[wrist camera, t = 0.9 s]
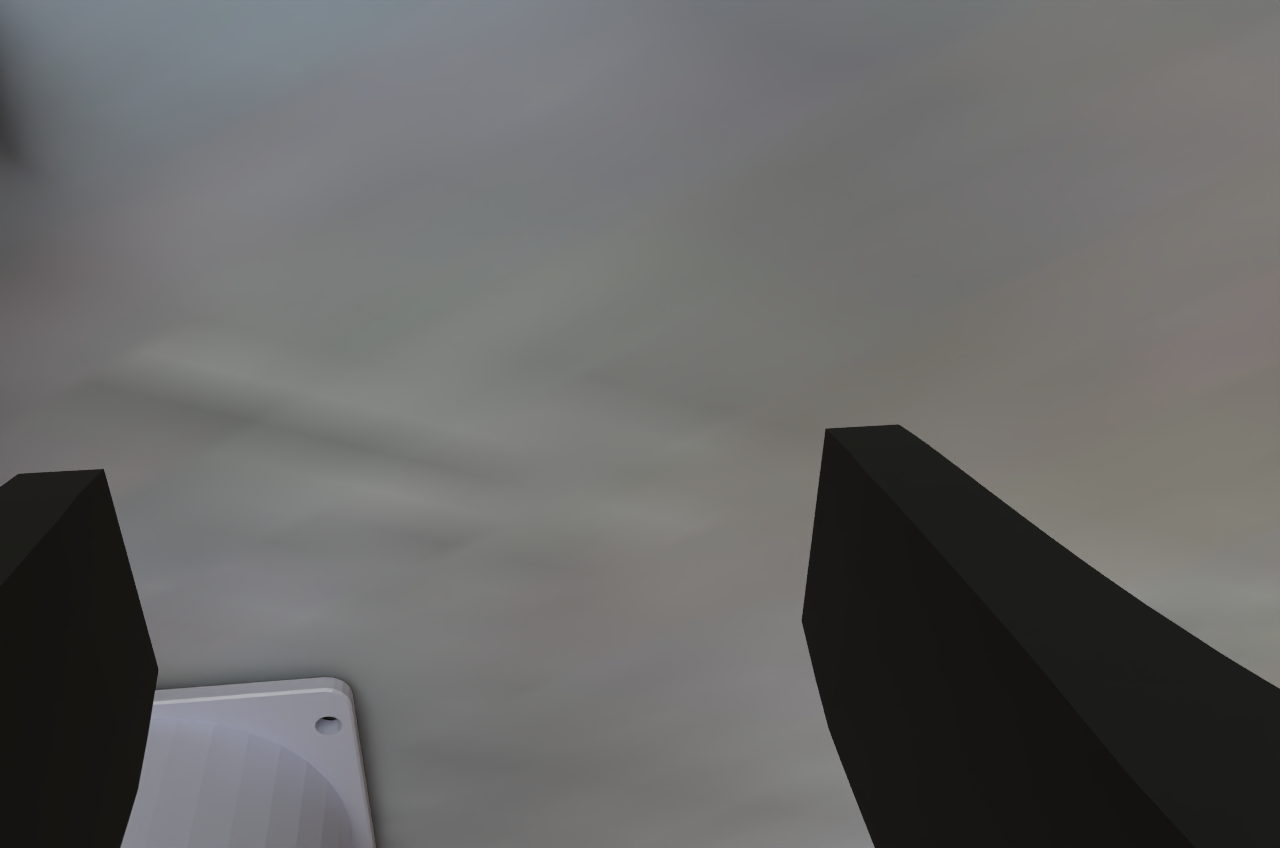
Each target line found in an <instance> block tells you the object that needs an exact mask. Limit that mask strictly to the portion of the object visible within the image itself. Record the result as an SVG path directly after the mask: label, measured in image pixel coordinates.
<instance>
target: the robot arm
mask: <svg viewBox="0 0 1280 848" xmlns="http://www.w3.org/2000/svg"><path fill="white" fill-rule="evenodd" d="M802 624H803V628H804V632H805V636H806V641H807V645H808V649H809V653H810V657H811V662H812V666H813V670H814V674H815V678H816V682H817V686H818V690H819V694H820V697H821V701H822V705H823V709H824V713H825V716H826V720H827V724H828V728H829V731H830V733H831V736H832V739H833V741H834V744H835V747H836V749H837V752H838V755H839V757H840V760H841V762H842V765H843V768H844V770H845V773H846V775H847V778H848V780H849V783H850V786H851V788H852V791H853V793H854V796H855V798H856V801H857V804H858V806H859V809H860V811H861V814H862V816H863V819H864V821H865V824H866V826H867V829H868V832H869V834H870V837H871V839H872V842H873V844H874V847H875V848H1280V689H1279V688H1277V687H1276V686H1274V685H1272V684H1271V683H1269V682H1267V681H1266V680H1264V679H1262V678H1261V677H1259V676H1257V675H1256V674H1254V673H1252V672H1251V671H1249V670H1247V669H1246V668H1244V667H1242V666H1241V665H1239V664H1237V663H1236V662H1234V661H1232V660H1231V659H1229V658H1228V657H1226V656H1224V655H1223V654H1221V653H1220V652H1218V651H1216V650H1215V649H1213V648H1212V647H1210V646H1209V645H1207V644H1206V643H1204V642H1203V641H1201V640H1200V639H1198V638H1197V637H1195V636H1193V635H1192V634H1190V633H1189V632H1187V631H1186V630H1184V629H1183V628H1181V627H1180V626H1178V625H1177V624H1175V623H1173V622H1172V621H1170V620H1169V619H1167V618H1166V617H1164V616H1163V615H1161V614H1160V613H1158V612H1157V611H1155V610H1153V609H1152V608H1150V607H1149V606H1147V605H1146V604H1144V603H1143V602H1141V601H1140V600H1139V599H1137V598H1136V597H1134V596H1133V595H1131V594H1130V593H1128V592H1127V591H1125V590H1124V589H1123V588H1121V587H1120V586H1118V585H1117V584H1115V583H1114V582H1112V581H1111V580H1110V579H1108V578H1107V577H1105V576H1104V575H1102V574H1101V573H1100V572H1098V571H1097V570H1095V569H1094V568H1093V567H1091V566H1090V565H1088V564H1087V563H1086V562H1084V561H1083V560H1081V559H1080V558H1079V557H1077V556H1076V555H1074V554H1073V553H1072V552H1070V551H1069V550H1068V549H1066V548H1065V547H1063V546H1062V545H1061V544H1059V543H1058V542H1057V541H1055V540H1054V539H1053V538H1051V537H1050V536H1048V535H1047V534H1046V533H1044V532H1043V531H1042V530H1040V529H1039V528H1038V527H1036V526H1035V525H1034V524H1032V523H1031V522H1030V521H1028V520H1027V519H1026V518H1024V517H1023V516H1022V515H1020V514H1019V513H1018V512H1016V511H1015V510H1014V509H1012V508H1011V507H1010V506H1008V505H1007V504H1006V503H1004V502H1003V501H1002V500H1000V499H999V498H998V497H997V496H995V495H994V494H993V493H991V492H990V491H989V490H987V489H986V488H985V487H983V486H982V485H981V484H979V483H978V482H977V481H975V480H974V479H973V478H972V477H970V476H969V475H968V474H966V473H965V472H964V471H962V470H961V469H960V468H958V467H957V466H956V465H954V464H953V463H952V462H950V461H949V460H948V459H946V458H945V457H944V456H943V455H941V454H940V453H938V452H937V451H936V450H934V449H933V448H932V447H930V446H929V445H928V444H926V443H925V442H924V441H922V440H921V439H919V438H918V437H917V436H915V435H914V434H912V433H911V432H909V431H908V430H906V429H905V428H903V427H902V426H900V425H883V426H865V427H847V428H829V429H826V430H825V438H824V446H823V454H822V462H821V470H820V478H819V486H818V494H817V502H816V510H815V518H814V526H813V534H812V542H811V550H810V558H809V566H808V574H807V582H806V590H805V598H804V607H803V615H802ZM157 676H158V666H157V662H156V659H155V655H154V651H153V648H152V644H151V640H150V637H149V633H148V629H147V626H146V622H145V618H144V615H143V611H142V607H141V604H140V600H139V596H138V593H137V589H136V585H135V582H134V578H133V574H132V571H131V567H130V563H129V560H128V556H127V552H126V549H125V545H124V541H123V538H122V534H121V530H120V527H119V523H118V519H117V516H116V512H115V508H114V505H113V501H112V497H111V494H110V490H109V486H108V483H107V479H106V475H105V472H104V469H96V470H79V471H61V472H43V473H25V474H18V475H16V476H15V477H13V478H12V479H11V480H9V481H8V482H7V483H5V484H4V485H2V486H1V487H0V848H376V842H375V836H374V829H373V823H372V816H371V810H370V803H369V797H368V790H367V784H366V777H365V771H364V764H363V758H362V751H361V745H360V738H359V732H358V725H357V719H356V712H355V706H354V699H353V693H352V691H351V689H350V686H348V685H347V684H346V683H345V682H344V681H342V680H339V679H336V678H330V677H320V678H307V679H294V680H281V681H268V682H255V683H243V684H230V685H217V686H204V687H191V688H179V689H166V690H155V688H156V682H157ZM326 716H329V717H335V718H337V719H336V720H324V719H322V718H323V717H326Z"/></svg>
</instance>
